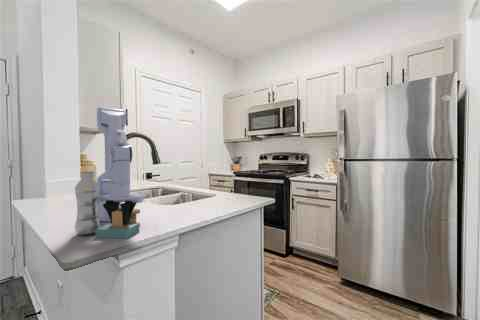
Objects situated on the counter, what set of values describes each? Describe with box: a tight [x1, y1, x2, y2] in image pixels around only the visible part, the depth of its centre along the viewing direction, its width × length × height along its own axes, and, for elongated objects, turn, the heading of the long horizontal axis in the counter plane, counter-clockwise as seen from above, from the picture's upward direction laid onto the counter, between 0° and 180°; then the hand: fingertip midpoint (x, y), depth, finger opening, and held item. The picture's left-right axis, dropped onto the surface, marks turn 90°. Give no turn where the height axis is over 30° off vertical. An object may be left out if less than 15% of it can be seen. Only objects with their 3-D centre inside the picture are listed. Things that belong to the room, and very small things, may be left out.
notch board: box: [95, 222, 140, 239], centre depth 71 cm, size 10×7×2 cm
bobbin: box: [129, 208, 141, 228], centre depth 78 cm, size 6×6×6 cm
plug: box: [112, 208, 129, 228], centre depth 72 cm, size 4×4×7 cm
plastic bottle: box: [74, 171, 101, 236], centre depth 71 cm, size 6×7×20 cm
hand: (120, 224), depth 72 cm, fingers closed on plug, 3 cm apart
